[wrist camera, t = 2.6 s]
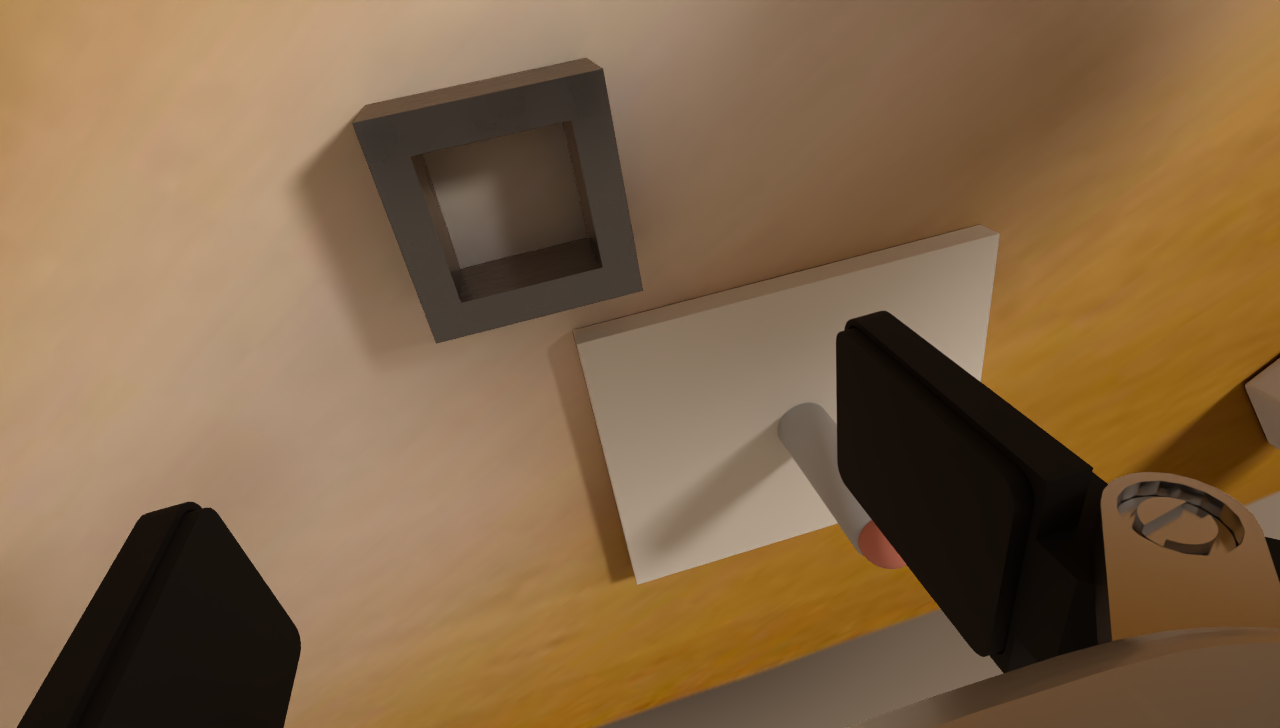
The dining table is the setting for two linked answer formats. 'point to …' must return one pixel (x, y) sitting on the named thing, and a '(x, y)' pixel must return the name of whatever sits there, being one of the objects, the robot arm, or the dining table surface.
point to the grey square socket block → (523, 280)
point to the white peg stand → (763, 398)
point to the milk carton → (1267, 401)
